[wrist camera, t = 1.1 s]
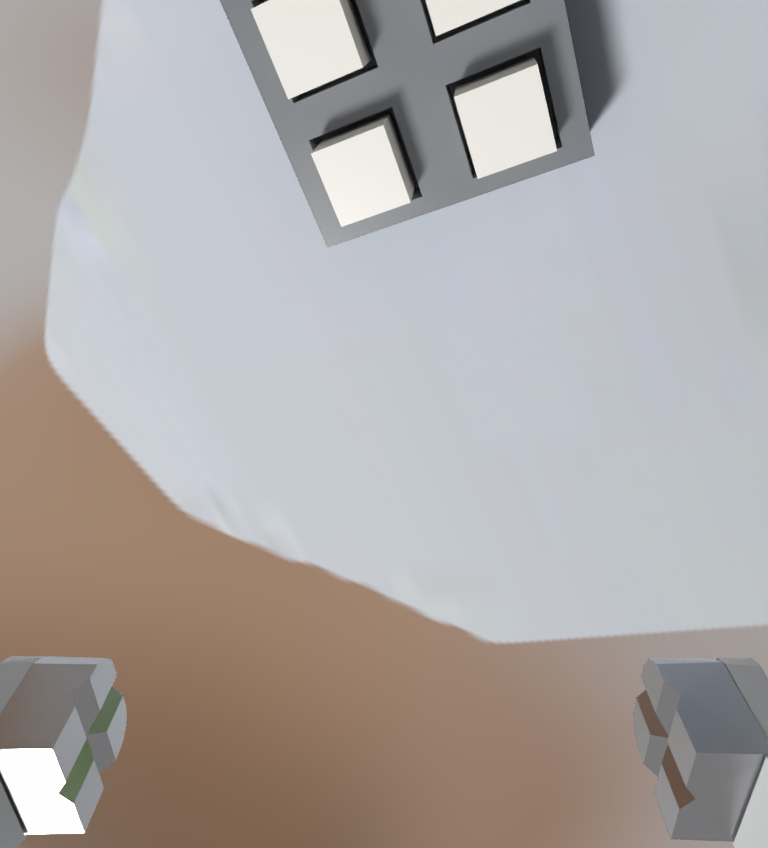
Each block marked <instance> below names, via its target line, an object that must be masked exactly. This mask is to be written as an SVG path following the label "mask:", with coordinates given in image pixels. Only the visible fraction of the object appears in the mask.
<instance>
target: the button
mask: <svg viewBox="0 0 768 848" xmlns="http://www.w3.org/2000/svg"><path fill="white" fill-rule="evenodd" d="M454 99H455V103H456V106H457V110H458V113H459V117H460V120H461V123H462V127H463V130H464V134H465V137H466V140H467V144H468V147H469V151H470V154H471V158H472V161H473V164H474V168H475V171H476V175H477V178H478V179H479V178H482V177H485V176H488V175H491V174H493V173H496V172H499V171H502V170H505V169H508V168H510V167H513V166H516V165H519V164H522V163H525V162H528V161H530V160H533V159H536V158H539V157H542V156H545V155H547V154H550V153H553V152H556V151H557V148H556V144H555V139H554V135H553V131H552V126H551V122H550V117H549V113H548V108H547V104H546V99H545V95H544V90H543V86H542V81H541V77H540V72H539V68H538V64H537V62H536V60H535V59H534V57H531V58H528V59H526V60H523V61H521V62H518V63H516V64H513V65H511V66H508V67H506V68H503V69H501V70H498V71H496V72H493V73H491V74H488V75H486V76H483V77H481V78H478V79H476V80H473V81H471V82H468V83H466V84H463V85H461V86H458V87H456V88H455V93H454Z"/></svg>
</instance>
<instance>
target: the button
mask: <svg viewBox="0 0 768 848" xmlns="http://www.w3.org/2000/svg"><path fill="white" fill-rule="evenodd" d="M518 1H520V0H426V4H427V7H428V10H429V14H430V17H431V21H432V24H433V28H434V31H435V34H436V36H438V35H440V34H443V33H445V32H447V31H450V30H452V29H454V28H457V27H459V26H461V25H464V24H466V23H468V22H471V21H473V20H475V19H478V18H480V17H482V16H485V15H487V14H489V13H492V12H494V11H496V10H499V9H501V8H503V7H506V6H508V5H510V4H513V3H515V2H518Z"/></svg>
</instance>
